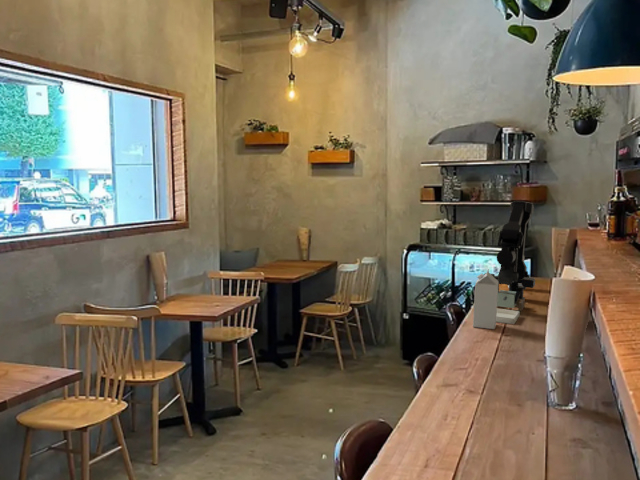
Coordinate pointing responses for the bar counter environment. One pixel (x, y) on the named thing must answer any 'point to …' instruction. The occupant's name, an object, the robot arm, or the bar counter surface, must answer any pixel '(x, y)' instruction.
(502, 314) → the tray
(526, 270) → the robot arm
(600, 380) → the bar counter surface
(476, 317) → the milk carton
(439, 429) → the bar counter surface
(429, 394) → the bar counter surface
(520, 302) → the dock
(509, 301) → the block with peg handle
